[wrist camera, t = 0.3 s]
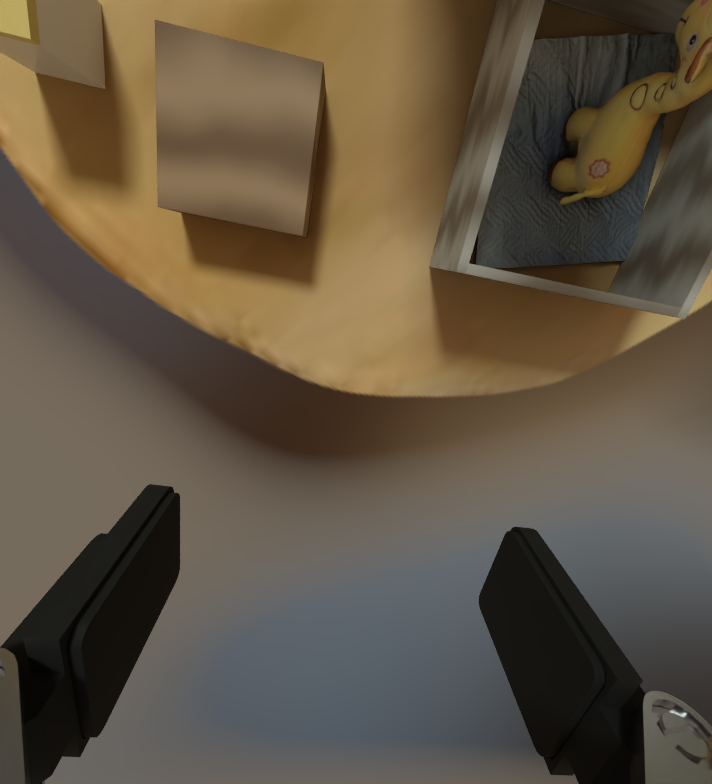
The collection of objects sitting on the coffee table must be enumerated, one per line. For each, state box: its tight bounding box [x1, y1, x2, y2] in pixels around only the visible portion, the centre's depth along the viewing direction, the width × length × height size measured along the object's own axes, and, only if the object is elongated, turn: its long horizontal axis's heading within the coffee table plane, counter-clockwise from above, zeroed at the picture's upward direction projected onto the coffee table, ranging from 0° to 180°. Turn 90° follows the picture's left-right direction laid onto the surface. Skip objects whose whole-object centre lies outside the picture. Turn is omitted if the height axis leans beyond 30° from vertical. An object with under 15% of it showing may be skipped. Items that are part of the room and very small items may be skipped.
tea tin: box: [0, 0, 106, 89], centre depth 25 cm, size 6×6×8 cm
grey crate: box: [430, 0, 712, 319], centre depth 29 cm, size 23×21×9 cm
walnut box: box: [155, 20, 326, 238], centre depth 30 cm, size 12×12×5 cm
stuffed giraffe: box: [476, 0, 712, 268], centre depth 26 cm, size 16×18×16 cm
